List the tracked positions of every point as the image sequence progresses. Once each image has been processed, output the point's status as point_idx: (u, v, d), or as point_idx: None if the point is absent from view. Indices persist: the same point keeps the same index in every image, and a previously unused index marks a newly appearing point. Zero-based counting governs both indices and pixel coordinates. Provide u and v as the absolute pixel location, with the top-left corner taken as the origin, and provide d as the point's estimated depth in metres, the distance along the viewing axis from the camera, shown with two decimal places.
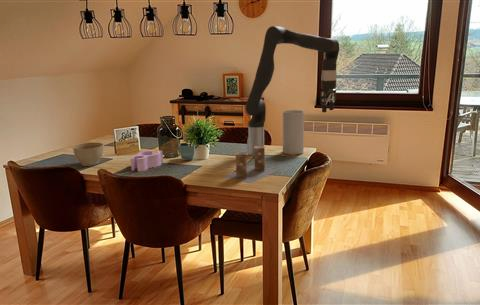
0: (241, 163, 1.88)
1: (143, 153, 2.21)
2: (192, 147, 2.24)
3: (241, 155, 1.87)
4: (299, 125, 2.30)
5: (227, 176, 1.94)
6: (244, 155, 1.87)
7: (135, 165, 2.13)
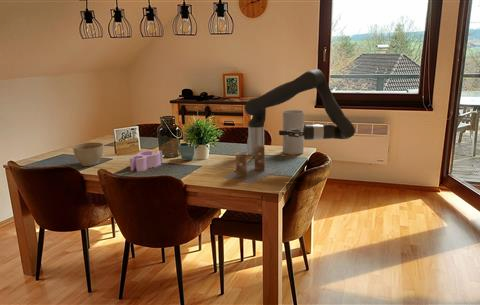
0: (241, 163, 1.88)
1: (143, 153, 2.21)
2: (192, 147, 2.24)
3: (241, 155, 1.87)
4: (299, 125, 2.30)
5: (227, 176, 1.94)
6: (244, 155, 1.87)
7: (134, 165, 2.13)
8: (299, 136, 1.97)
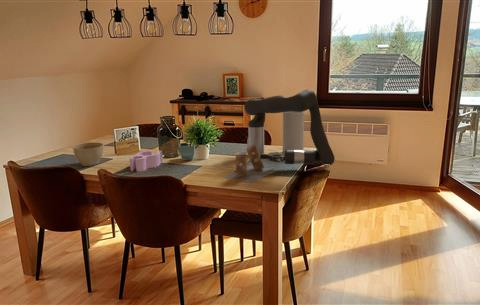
0: (241, 163, 1.88)
1: (142, 153, 2.21)
2: (192, 147, 2.24)
3: (241, 155, 1.87)
4: (299, 125, 2.30)
5: (227, 176, 1.94)
6: (244, 155, 1.87)
7: (134, 165, 2.12)
8: None
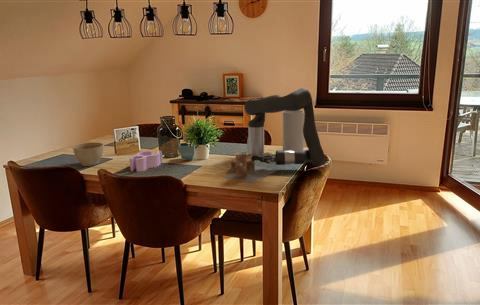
0: (241, 163, 1.88)
1: (142, 153, 2.21)
2: (192, 147, 2.24)
3: (241, 155, 1.87)
4: (299, 125, 2.30)
5: (227, 176, 1.94)
6: (244, 155, 1.87)
7: (134, 165, 2.12)
8: (271, 161, 2.01)
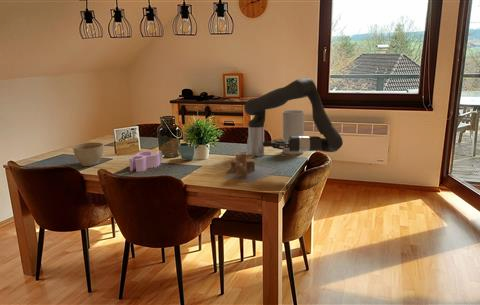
0: (241, 163, 1.88)
1: (142, 153, 2.20)
2: (192, 147, 2.24)
3: (241, 155, 1.87)
4: (299, 125, 2.30)
5: (227, 176, 1.94)
6: (244, 155, 1.87)
7: (134, 165, 2.12)
8: (284, 148, 1.87)
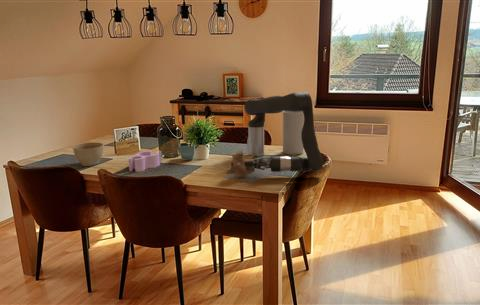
0: (239, 162, 1.88)
1: (142, 153, 2.20)
2: (192, 147, 2.24)
3: (237, 154, 1.87)
4: (299, 125, 2.30)
5: (227, 176, 1.94)
6: (240, 154, 1.87)
7: (133, 165, 2.12)
8: (265, 168, 1.88)
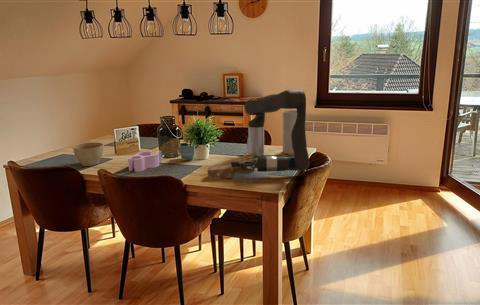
0: (217, 174, 1.90)
1: (142, 153, 2.20)
2: (192, 147, 2.24)
3: (209, 174, 1.90)
4: None
5: None
6: (208, 171, 1.90)
7: (133, 165, 2.12)
8: (252, 168, 1.89)
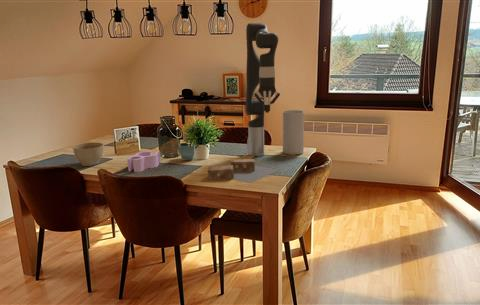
0: (217, 174, 1.90)
1: (141, 154, 2.20)
2: (192, 147, 2.24)
3: (209, 174, 1.90)
4: (299, 125, 2.30)
5: None
6: (208, 172, 1.90)
7: (132, 166, 2.12)
8: (263, 92, 1.88)
